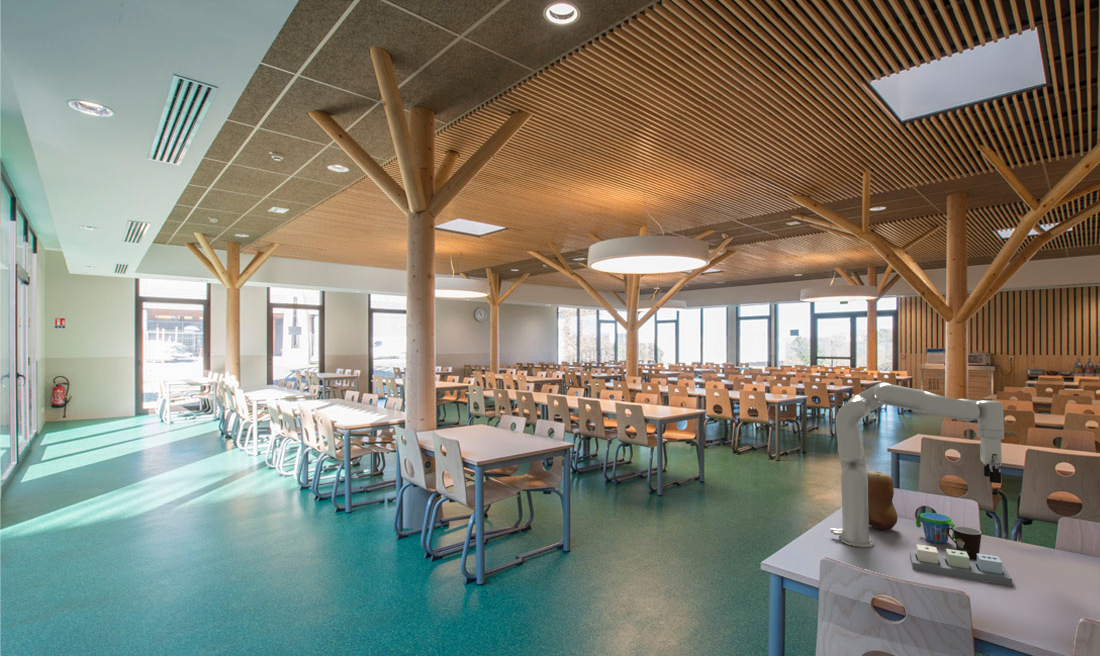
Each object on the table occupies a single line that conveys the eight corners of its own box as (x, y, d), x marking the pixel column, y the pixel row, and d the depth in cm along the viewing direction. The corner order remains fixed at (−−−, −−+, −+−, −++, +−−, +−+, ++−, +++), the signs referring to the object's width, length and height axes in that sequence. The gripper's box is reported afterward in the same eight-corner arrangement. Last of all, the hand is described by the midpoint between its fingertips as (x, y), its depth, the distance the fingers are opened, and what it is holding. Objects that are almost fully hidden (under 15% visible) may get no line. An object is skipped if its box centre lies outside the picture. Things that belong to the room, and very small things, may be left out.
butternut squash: (900, 528, 235) (899, 471, 236) (894, 536, 226) (892, 477, 226) (865, 521, 245) (864, 466, 246) (857, 528, 235) (856, 472, 236)
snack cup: (909, 535, 227) (908, 511, 227) (929, 533, 229) (928, 509, 229) (943, 549, 211) (942, 523, 212) (965, 546, 214) (964, 521, 214)
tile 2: (980, 570, 186) (980, 558, 186) (977, 564, 192) (976, 552, 192) (1002, 574, 183) (1002, 562, 183) (998, 567, 189) (998, 555, 189)
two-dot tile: (948, 565, 191) (948, 553, 191) (946, 559, 196) (945, 548, 196) (969, 569, 188) (969, 557, 188) (966, 562, 193) (966, 551, 193)
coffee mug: (987, 561, 199) (986, 535, 200) (961, 560, 201) (960, 533, 201) (969, 549, 211) (969, 524, 211) (945, 548, 212) (944, 523, 213)
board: (912, 569, 194) (912, 562, 194) (909, 557, 204) (909, 551, 204) (1012, 586, 180) (1012, 578, 180) (1003, 572, 190) (1003, 565, 190)
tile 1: (918, 560, 195) (918, 549, 195) (916, 554, 201) (916, 543, 201) (938, 563, 192) (938, 552, 192) (936, 558, 198) (935, 546, 198)
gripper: (973, 429, 208) (975, 473, 208) (982, 436, 193) (984, 483, 193) (998, 430, 204) (999, 475, 204) (1009, 438, 189) (1011, 486, 189)
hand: (992, 479), depth 198 cm, fingers open, 9 cm apart
